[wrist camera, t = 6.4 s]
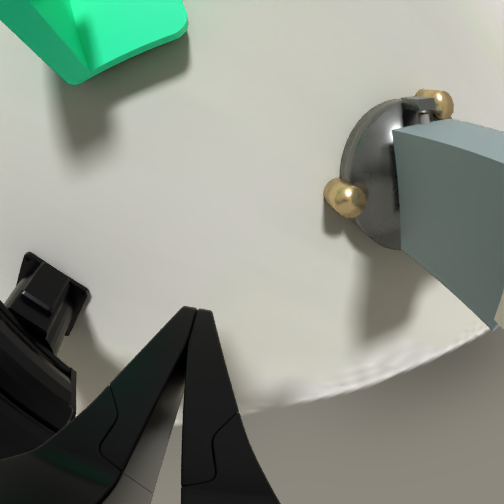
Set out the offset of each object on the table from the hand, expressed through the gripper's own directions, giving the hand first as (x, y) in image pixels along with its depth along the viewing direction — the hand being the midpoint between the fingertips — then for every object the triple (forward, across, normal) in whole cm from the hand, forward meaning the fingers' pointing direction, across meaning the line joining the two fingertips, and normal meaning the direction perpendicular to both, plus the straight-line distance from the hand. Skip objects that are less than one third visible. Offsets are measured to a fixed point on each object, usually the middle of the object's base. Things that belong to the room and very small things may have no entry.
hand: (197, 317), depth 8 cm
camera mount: (+13, +10, -12) cm, 21 cm away
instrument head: (+13, -15, -3) cm, 20 cm away
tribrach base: (+16, -13, -2) cm, 20 cm away
